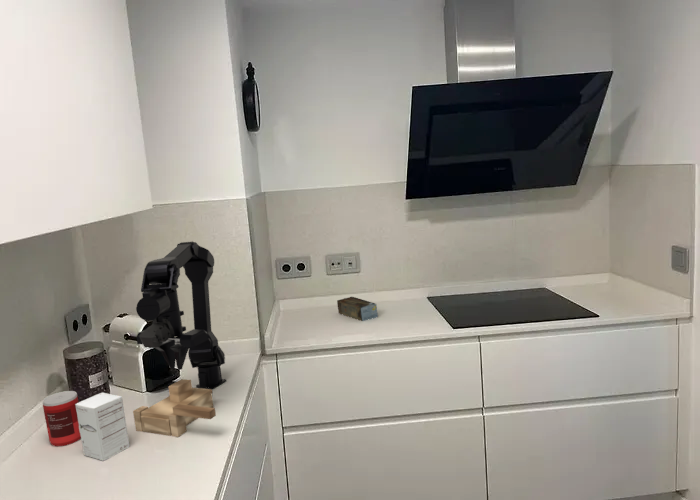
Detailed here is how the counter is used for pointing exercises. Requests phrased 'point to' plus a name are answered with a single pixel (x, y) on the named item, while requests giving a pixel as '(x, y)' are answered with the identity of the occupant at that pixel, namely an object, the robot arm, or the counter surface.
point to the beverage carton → (357, 308)
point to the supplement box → (102, 426)
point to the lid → (176, 399)
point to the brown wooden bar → (194, 411)
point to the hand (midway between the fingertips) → (176, 369)
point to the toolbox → (167, 421)
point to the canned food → (62, 418)
